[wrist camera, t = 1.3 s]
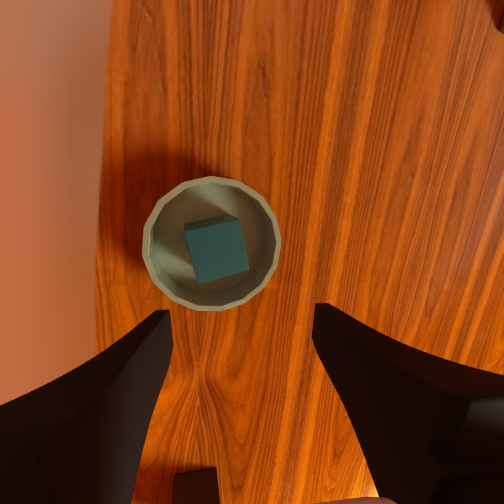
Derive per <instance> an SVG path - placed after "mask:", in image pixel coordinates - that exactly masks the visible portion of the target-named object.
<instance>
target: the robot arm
mask: <svg viewBox="0 0 504 504" xmlns="http://www.w3.org/2000/svg"><path fill="white" fill-rule="evenodd" d="M312 340H313V343H314V346H315V348H316V351H317V354H318V356H319V358H320V360H321V362H322V364H323V366H324V368H325V370H326V372H327V373H328V375H329V377H330V379H331V381H332V383H333V385H334V387H335V389H336V390H337V392H338V394H339V396H340V398H341V400H342V402H343V404H344V406H345V409H346V411H347V413H348V416H349V418H350V421H351V423H352V426H353V428H354V430H355V433H356V436H357V438H358V441H359V443H360V446H361V448H362V451H363V454H364V456H365V459H366V462H367V464H368V467H369V470H370V473H371V475H372V478H373V481H374V484H375V487H376V489H377V492H378V495H379V497H361V498H353V499H346V500H338V501H331V502H323V503H316V504H504V375H500V374H496V373H492V372H488V371H484V370H480V369H476V368H472V367H469V366H466V365H462V364H459V363H456V362H452V361H449V360H446V359H443V358H440V357H437V356H434V355H431V354H429V353H426V352H423V351H421V350H418V349H415V348H413V347H410V346H408V345H406V344H403V343H401V342H399V341H397V340H394V339H392V338H390V337H388V336H386V335H384V334H382V333H380V332H378V331H376V330H374V329H372V328H370V327H369V326H367V325H365V324H363V323H361V322H360V321H358V320H356V319H354V318H353V317H351V316H349V315H348V314H346V313H344V312H343V311H341V310H339V309H338V308H336V307H334V306H332V305H330V304H328V303H315V311H314V321H313V330H312ZM172 350H173V337H172V328H171V318H170V310H156V311H155V312H153V313H152V314H151V315H149V316H148V317H147V318H146V319H145V320H143V321H142V322H141V323H140V324H139V325H137V326H136V327H135V328H134V329H132V330H131V331H130V332H129V333H127V334H126V335H125V336H123V337H122V338H121V339H119V340H118V341H117V342H115V343H114V344H113V345H111V346H110V347H108V348H107V349H106V350H104V351H103V352H101V353H100V354H98V355H97V356H95V357H93V358H92V359H90V360H89V361H87V362H85V363H84V364H82V365H80V366H79V367H77V368H75V369H73V370H72V371H70V372H68V373H66V374H65V375H63V376H61V377H59V378H57V379H56V380H53V381H51V382H49V383H47V384H45V385H43V386H41V387H39V388H37V389H36V390H33V391H31V392H29V393H27V394H25V395H23V396H20V397H18V398H16V399H14V400H12V401H9V402H7V403H5V404H3V405H0V504H131V499H132V495H133V490H134V485H135V481H136V477H137V472H138V468H139V464H140V459H141V455H142V451H143V447H144V443H145V439H146V435H147V431H148V427H149V423H150V420H151V417H152V414H153V411H154V408H155V405H156V402H157V399H158V396H159V394H160V391H161V388H162V385H163V382H164V379H165V376H166V373H167V370H168V367H169V364H170V359H171V355H172Z"/></svg>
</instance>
